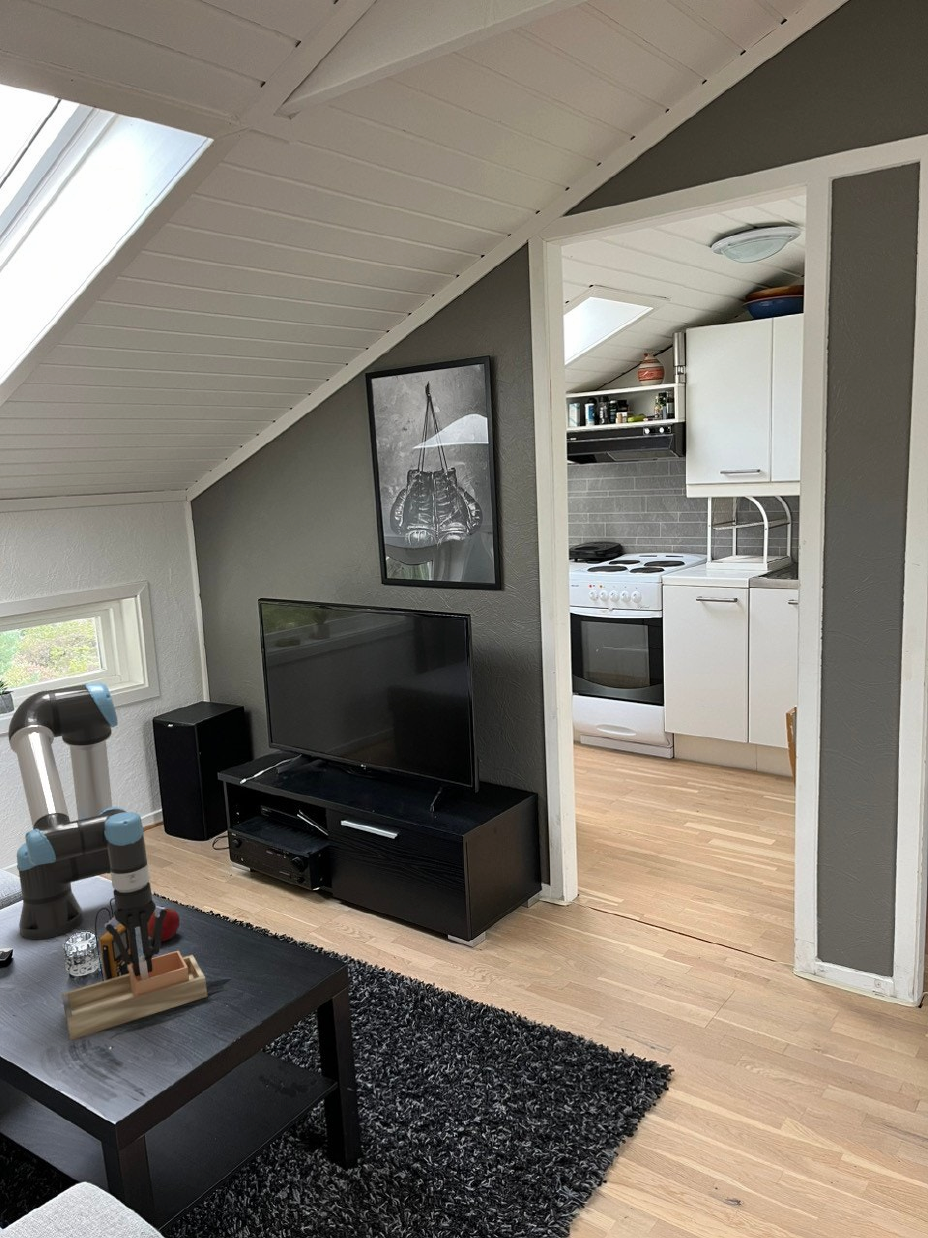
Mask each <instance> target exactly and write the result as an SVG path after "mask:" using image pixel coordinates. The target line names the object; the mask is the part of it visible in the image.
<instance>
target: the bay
mask: <svg viewBox="0 0 928 1238" xmlns="http://www.w3.org/2000/svg"><path fill="white" fill-rule="evenodd" d="M182 958H183V960H184V961H185V963H186V965H187V967H188V974H189V980H188V981H184V982H181V983H178V984H175V985H171V986H168V987H165V988H162V989H159V990H155V991H152V992H149V993H146V994H142V995H139V996H136V997H134V996H133V993H132V990H131V983H130V976H129V974H126V975H122V976H119V977H115V978H112V979H109V980H105V979H104V981H103V980H102V981H98V982H96V983H93V984H90V985H89V984H88V985H86V986H82V987H78V988H75V989H72V990H69V991H65V992H63V993H61V999H62V1005H63V1013H64V1016H65V1021H66V1025H67V1029H68V1033H69V1037H70V1038H69V1039H70V1041H72V1040H75V1039H79V1038H82V1037H85V1036H88V1035H92V1034H94V1033H98V1032H101V1031H103V1030H107V1029H110V1028H113V1027H116V1026H120V1025H122V1024H126V1023H128V1022H129V1023H130V1022H132V1021H136V1020H139V1019H142V1018H145V1017H148V1016H150V1015H151V1016H152V1015H154V1014H156V1013H161V1012H164V1011H166V1010H170V1009H172V1008H176V1007H179V1006H182V1005H185V1004H188V1003H192V1002H194V1001H197V1000H198V1001H199V1000H201V999H203V998H207V997H208V991H207V990H208V989H207V982H206V976H205V974H204V972H203V971H202V969H201V967H200V965H199V964H198V962H197V960H196V958H195V957H194V955H193V954H190V955H186V956H182Z"/></svg>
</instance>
